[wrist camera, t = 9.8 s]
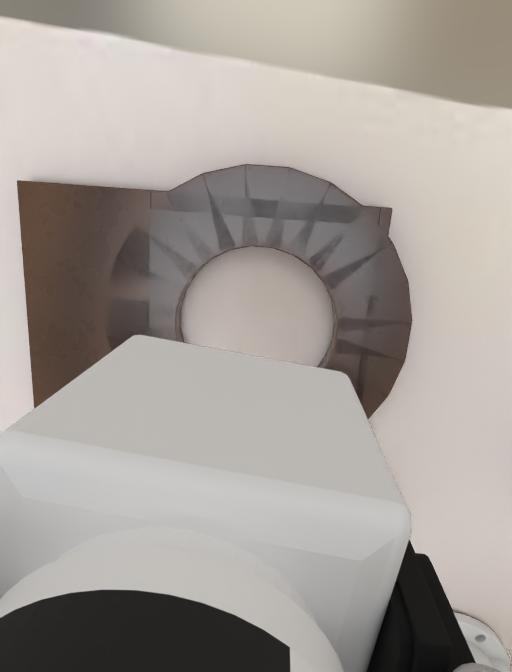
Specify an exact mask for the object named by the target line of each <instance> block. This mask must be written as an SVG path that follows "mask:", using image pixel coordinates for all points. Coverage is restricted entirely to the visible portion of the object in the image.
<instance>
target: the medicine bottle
mask: <svg viewBox="0 0 512 672" xmlns="http://www.w3.org/2000/svg"><path fill="white" fill-rule="evenodd" d="M410 535H411V514H410V512H409V509H408V507H407V505H406V503H405V500H404V498H403V496H402V494H401V492H400V489H399V487H398V485H397V483H396V481H395V478H394V476H393V474H392V472H391V469H390V467H389V465H388V463H387V461H386V458H385V456H384V454H383V452H382V450H381V447H380V445H379V443H378V441H377V438H376V436H375V434H374V432H373V430H372V427H371V425H370V423H369V421H368V419H367V416H366V414H365V412H364V410H363V407H362V405H361V403H360V401H359V399H358V396H357V394H356V392H355V390H354V388H353V385H352V383H351V381H350V379H349V377H348V376H347V375H346V374H344V373H342V372H340V371H335V370H329V369H324V368H319V367H313V366H308V365H302V364H297V363H291V362H286V361H281V360H275V359H270V358H264V357H259V356H253V355H248V354H242V353H237V352H232V351H226V350H221V349H215V348H210V347H204V346H199V345H194V344H188V343H183V342H177V341H172V340H166V339H161V338H156V337H150V336H145V335H133V336H132V337H131V338H129V339H128V340H126V341H125V342H124V343H122V344H121V345H120V346H118V347H117V348H116V349H114V350H113V351H112V352H110V353H109V354H108V355H106V356H105V357H104V358H102V359H101V360H99V361H98V362H97V363H95V364H94V365H93V366H91V367H90V368H89V369H87V370H86V371H85V372H83V373H82V374H81V375H79V376H78V377H77V378H75V379H74V380H73V381H71V382H70V383H68V384H67V385H66V386H64V387H63V388H62V389H60V390H59V391H58V392H56V393H55V394H54V395H52V396H51V397H50V398H48V399H47V400H46V401H44V402H43V403H42V404H40V405H39V406H37V407H36V408H35V409H33V410H32V411H31V412H29V413H28V414H27V415H25V416H24V417H23V418H21V419H20V420H19V421H17V422H16V423H15V424H13V425H12V426H11V427H9V428H8V429H6V430H5V431H4V432H2V433H1V434H0V672H367V669H368V666H369V662H370V659H371V656H372V653H373V650H374V647H375V644H376V641H377V638H378V634H379V631H380V628H381V625H382V622H383V619H384V616H385V613H386V610H387V607H388V603H389V600H390V597H391V594H392V591H393V588H394V585H395V582H396V579H397V575H398V572H399V569H400V566H401V563H402V560H403V557H404V554H405V551H406V547H407V544H408V541H409V538H410Z"/></svg>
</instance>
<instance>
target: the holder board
mask: <svg viewBox="0 0 512 672" xmlns="http://www.w3.org/2000/svg"><path fill="white" fill-rule="evenodd" d="M17 187H18V200H19V213H20V226H21V240H22V253H23V266H24V279H25V292H26V305H27V318H28V331H29V345H30V358H31V371H32V384H33V397H34V409H35V408H36V407H37V406H39V405H40V404H42V403H43V402H44V401H46V400H47V399H48V398H50V397H51V396H52V395H54V394H55V393H56V392H58V391H59V390H60V389H62V388H63V387H64V386H66V385H67V384H68V383H70V382H71V381H73V380H74V379H75V378H77V377H78V376H79V375H81V374H82V373H83V372H85V371H86V370H87V369H89V368H90V367H91V366H93V365H94V364H95V363H97V362H98V361H99V360H101V359H102V358H104V357H105V356H106V355H108V354H109V353H110V352H112V351H113V350H114V349H116V348H117V347H118V346H120V345H121V344H122V343H124V342H125V341H126V340H128V339H129V338H131V337H132V336H133V335H145V336H150V337H156V338H161V339H166V340H172V341H177V342H183V343H184V340H183V336H182V332H181V328H180V319H181V305H182V302H183V299H184V295H185V292H186V289H187V287H188V286H189V284H190V282H191V281H192V279H193V278H194V276H195V275H196V273H197V272H198V271H199V270H200V269H201V268H202V267H203V266H204V265H205V264H206V263H208V262H209V261H210V260H211V259H212V258H214V257H216V256H218V255H220V254H222V253H224V252H226V251H228V250H233V249H238V248H243V247H248V246H256V247H269V248H275V249H277V250H280V251H283V252H286V253H289V254H291V255H294V256H295V257H297V258H298V259H300V260H301V261H302V262H304V263H305V264H307V265H308V266H310V267H311V268H312V269H313V270H314V271H315V273H316V274H317V275H318V276H319V278H320V279H321V280H322V281H323V282H324V285H325V287H326V289H327V291H328V294H329V296H330V298H331V300H332V307H333V314H334V328H333V336H332V341H331V343H330V346H329V348H328V351H327V353H326V355H325V358H324V359H323V360H322V362H321V363H320V364H319V366H318V367H319V368H324V369H329V370H335V371H340V372H342V373H344V374H346V375H347V376H348V377H349V379H350V381H351V383H352V385H353V388H354V390H355V392H356V394H357V396H358V399H359V401H360V403H361V405H362V407H363V410H364V412H365V414H366V416H367V419H369V418H370V417H371V415H372V414H373V413H374V412H375V411H376V409H377V408H378V407H379V406H380V405H381V404H382V402H383V401H384V400H385V399H386V398H387V396H388V395H389V394H390V391H391V389H392V387H393V385H394V383H395V381H396V379H397V377H398V375H399V372H400V370H401V368H402V366H403V364H404V362H405V358H406V353H407V347H408V342H409V336H410V330H411V325H412V314H411V304H410V294H409V284H408V279H407V277H406V274H405V272H404V269H403V267H402V264H401V262H400V259H399V257H398V254H397V252H396V249H395V246H394V244H393V243H392V241H391V239H390V238H389V237H388V234H389V227H390V220H391V214H392V208H385V207H372V206H363V205H361V204H360V203H358V202H357V201H356V200H354V199H353V198H352V197H350V196H349V195H348V194H346V193H345V192H343V191H342V190H341V189H339V188H338V187H337V186H335V185H334V184H333V183H331V182H329V181H326V180H323V179H320V178H318V177H315V176H312V175H309V174H307V173H304V172H301V171H299V170H296V169H293V168H289V167H279V166H265V165H251V164H246V165H245V164H244V165H239V166H234V167H230V168H225V169H220V170H216V171H211V172H206V173H203V174H200V175H198V176H197V177H195V178H193V179H191V180H189V181H187V182H185V183H183V184H182V185H180V186H178V187H176V188H174V189H172V190H170V191H154V190H141V189H127V188H114V187H100V186H86V185H73V184H59V183H46V182H32V181H17Z"/></svg>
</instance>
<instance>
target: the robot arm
mask: <svg viewBox="0 0 512 672" xmlns="http://www.w3.org/2000/svg"><path fill="white" fill-rule="evenodd" d="M367 672H511V665H510V660H509V657H508V655H507V653H506V650H505V648H504V647H503V645H502V643H501V641H500V640H499V638H498V636H497V635H496V634H495V633H494V632H493V631H492V630H491V629H490V628H489V627H487V626H486V625H484V624H483V623H481V622H480V621H478V620H476V619H474V618H471V617H469V616H467V615H463V614H459V613H455V612H453V610H452V608H451V606H450V603H449V601H448V599H447V597H446V594H445V592H444V590H443V588H442V585H441V583H440V581H439V579H438V576H437V574H436V572H435V570H434V567H433V565H432V563H431V561H430V559H429V558H428V556H426V555H425V554H418V553H415V552H414V549H413V547H412V544H411V542H410V540H409V541H408V544H407V547H406V551H405V554H404V557H403V560H402V563H401V566H400V569H399V572H398V575H397V579H396V582H395V585H394V588H393V591H392V594H391V597H390V600H389V603H388V607H387V610H386V613H385V616H384V619H383V622H382V625H381V628H380V631H379V634H378V638H377V641H376V644H375V647H374V650H373V653H372V656H371V659H370V662H369V666H368V669H367Z"/></svg>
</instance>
